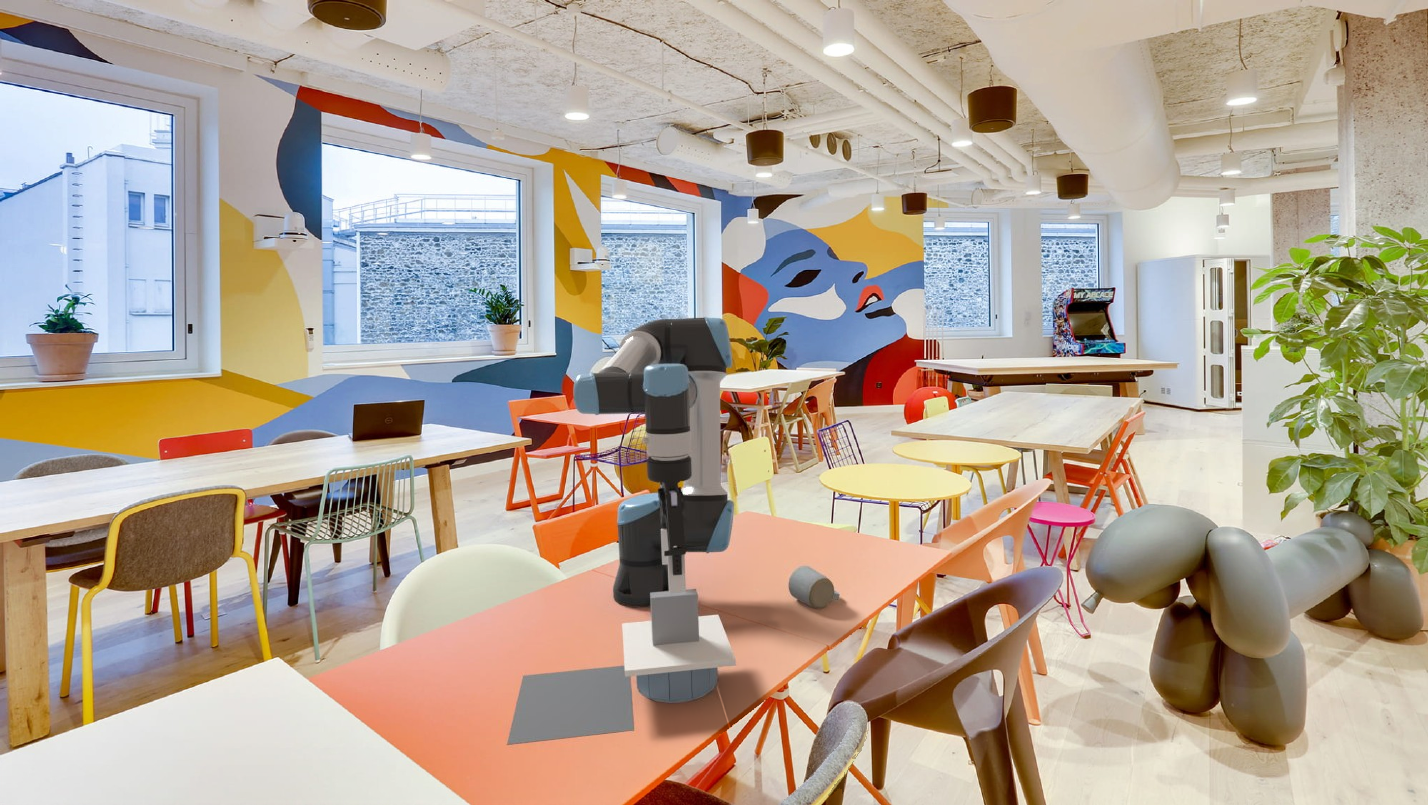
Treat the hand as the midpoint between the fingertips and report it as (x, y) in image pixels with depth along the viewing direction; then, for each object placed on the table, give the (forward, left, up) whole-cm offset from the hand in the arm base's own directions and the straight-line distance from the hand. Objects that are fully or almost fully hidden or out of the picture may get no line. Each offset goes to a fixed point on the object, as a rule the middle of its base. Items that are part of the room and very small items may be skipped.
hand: (673, 577), depth 120 cm
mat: (+3, -18, -19) cm, 26 cm away
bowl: (0, 0, -19) cm, 19 cm away
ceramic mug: (-29, +34, -20) cm, 49 cm away
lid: (0, 0, -12) cm, 12 cm away
